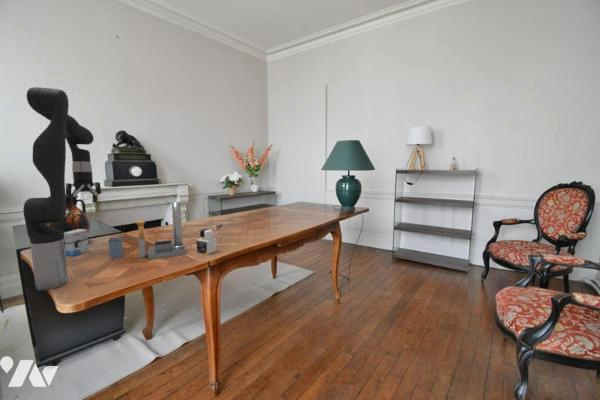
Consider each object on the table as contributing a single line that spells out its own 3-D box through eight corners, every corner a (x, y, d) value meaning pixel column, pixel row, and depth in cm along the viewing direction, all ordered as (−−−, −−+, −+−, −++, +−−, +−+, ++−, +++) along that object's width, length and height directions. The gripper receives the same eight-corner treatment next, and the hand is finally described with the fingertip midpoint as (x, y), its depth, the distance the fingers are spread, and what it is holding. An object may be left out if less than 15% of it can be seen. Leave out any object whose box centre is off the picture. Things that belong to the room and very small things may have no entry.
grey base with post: (186, 254, 141) (184, 203, 138) (139, 260, 132) (135, 206, 128) (183, 247, 154) (181, 200, 150) (140, 252, 144) (137, 202, 140)
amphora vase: (49, 253, 141) (42, 199, 137) (37, 246, 153) (31, 196, 149) (98, 244, 158) (93, 195, 155) (84, 238, 170) (79, 193, 167)
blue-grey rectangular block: (122, 256, 137) (121, 239, 136) (110, 258, 135) (108, 240, 134) (123, 253, 141) (121, 236, 140) (111, 255, 139) (109, 237, 138)
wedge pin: (146, 243, 137) (144, 221, 135) (137, 244, 135) (136, 222, 134) (146, 242, 140) (144, 220, 138) (138, 242, 138) (136, 220, 137)
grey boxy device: (196, 253, 144) (195, 230, 142) (207, 249, 150) (206, 227, 148) (206, 255, 140) (205, 232, 139) (217, 251, 147) (216, 229, 145)
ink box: (73, 256, 137) (71, 233, 136) (65, 255, 138) (63, 232, 137) (89, 251, 146) (87, 229, 144) (82, 250, 147) (79, 228, 145)
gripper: (69, 171, 128) (72, 205, 130) (102, 171, 141) (104, 202, 143) (61, 171, 132) (64, 204, 134) (94, 170, 144) (96, 201, 146)
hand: (85, 203), depth 138 cm, fingers open, 8 cm apart
